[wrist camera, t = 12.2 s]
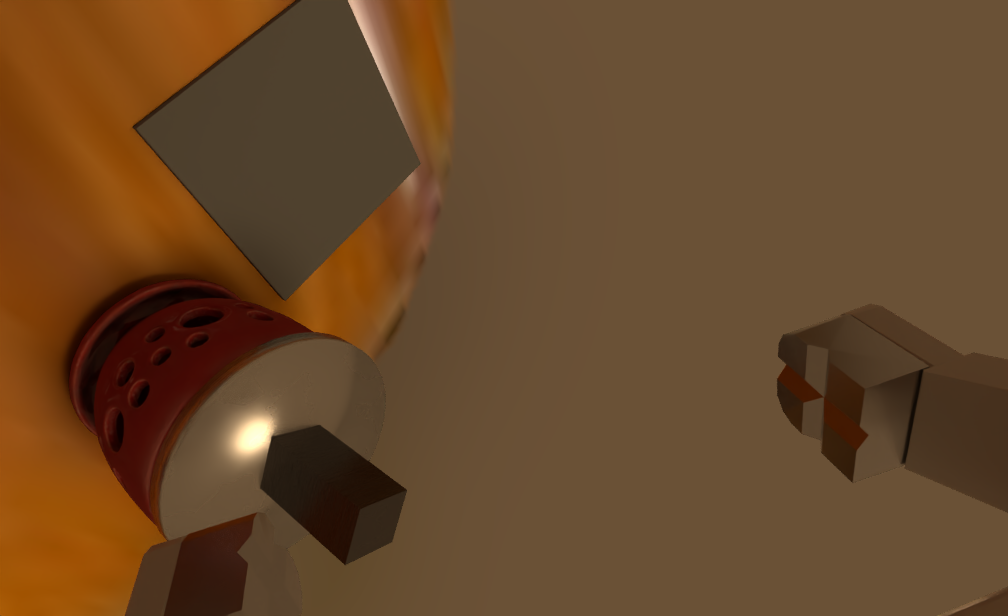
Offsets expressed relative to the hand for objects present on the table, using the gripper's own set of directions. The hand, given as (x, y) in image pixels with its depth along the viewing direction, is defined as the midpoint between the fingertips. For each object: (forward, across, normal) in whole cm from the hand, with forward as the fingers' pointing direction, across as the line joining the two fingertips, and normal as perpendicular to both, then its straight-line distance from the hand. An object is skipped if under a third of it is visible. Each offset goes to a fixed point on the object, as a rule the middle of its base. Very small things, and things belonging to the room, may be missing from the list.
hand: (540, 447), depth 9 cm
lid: (+23, -12, -16) cm, 30 cm away
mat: (+39, -6, -4) cm, 39 cm away
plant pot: (+32, -19, -13) cm, 39 cm away
